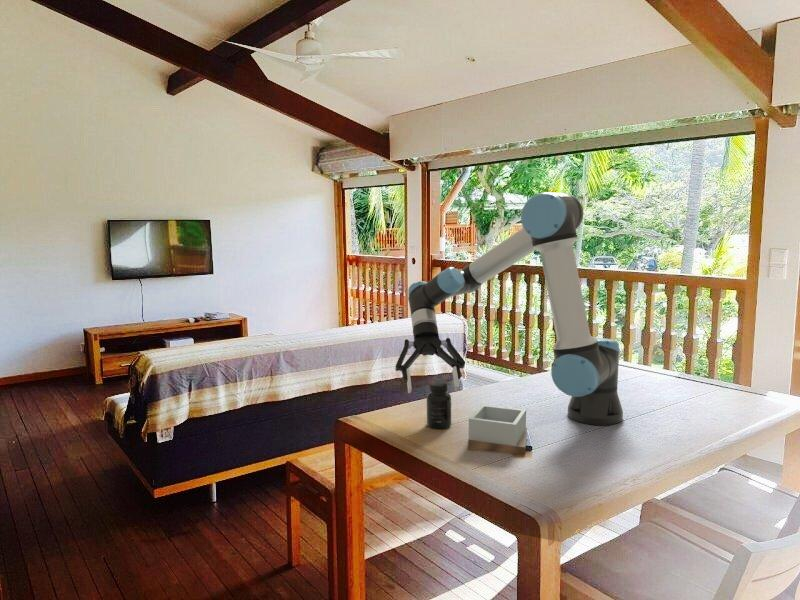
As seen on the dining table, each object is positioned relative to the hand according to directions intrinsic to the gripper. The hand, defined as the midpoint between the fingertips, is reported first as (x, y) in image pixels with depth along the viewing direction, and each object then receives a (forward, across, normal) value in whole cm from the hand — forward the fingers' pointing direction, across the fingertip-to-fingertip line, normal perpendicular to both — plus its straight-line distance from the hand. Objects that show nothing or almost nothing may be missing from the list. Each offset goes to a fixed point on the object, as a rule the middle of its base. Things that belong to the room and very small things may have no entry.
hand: (433, 390), depth 168 cm
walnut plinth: (+19, -14, +5) cm, 24 cm away
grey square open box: (+17, -14, +7) cm, 23 cm away
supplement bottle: (+9, -1, -4) cm, 10 cm away
